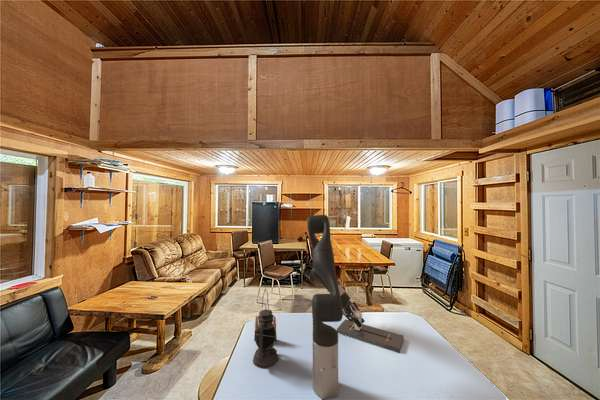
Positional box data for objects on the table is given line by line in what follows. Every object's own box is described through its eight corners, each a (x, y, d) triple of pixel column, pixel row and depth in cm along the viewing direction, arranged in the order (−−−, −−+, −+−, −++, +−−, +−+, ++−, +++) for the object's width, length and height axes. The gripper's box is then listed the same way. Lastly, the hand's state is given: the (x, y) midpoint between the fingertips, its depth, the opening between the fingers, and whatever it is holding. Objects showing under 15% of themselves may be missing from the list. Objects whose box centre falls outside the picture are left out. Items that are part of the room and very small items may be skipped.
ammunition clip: (276, 339, 113) (276, 315, 113) (276, 342, 111) (276, 316, 111) (255, 339, 114) (255, 314, 114) (254, 341, 112) (254, 316, 112)
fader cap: (354, 329, 118) (354, 313, 118) (357, 325, 121) (357, 310, 121) (359, 330, 116) (359, 314, 116) (361, 327, 120) (361, 311, 120)
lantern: (272, 371, 91) (272, 295, 92) (247, 367, 93) (248, 293, 94) (281, 351, 103) (281, 284, 104) (259, 348, 106) (259, 282, 106)
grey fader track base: (336, 332, 119) (336, 328, 119) (345, 322, 129) (345, 319, 129) (399, 353, 103) (399, 348, 103) (403, 339, 113) (403, 335, 113)
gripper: (339, 296, 117) (362, 327, 110) (349, 287, 129) (371, 314, 122) (329, 304, 120) (352, 334, 113) (340, 295, 132) (361, 322, 125)
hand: (361, 324), depth 118 cm, fingers closed on fader cap, 4 cm apart
